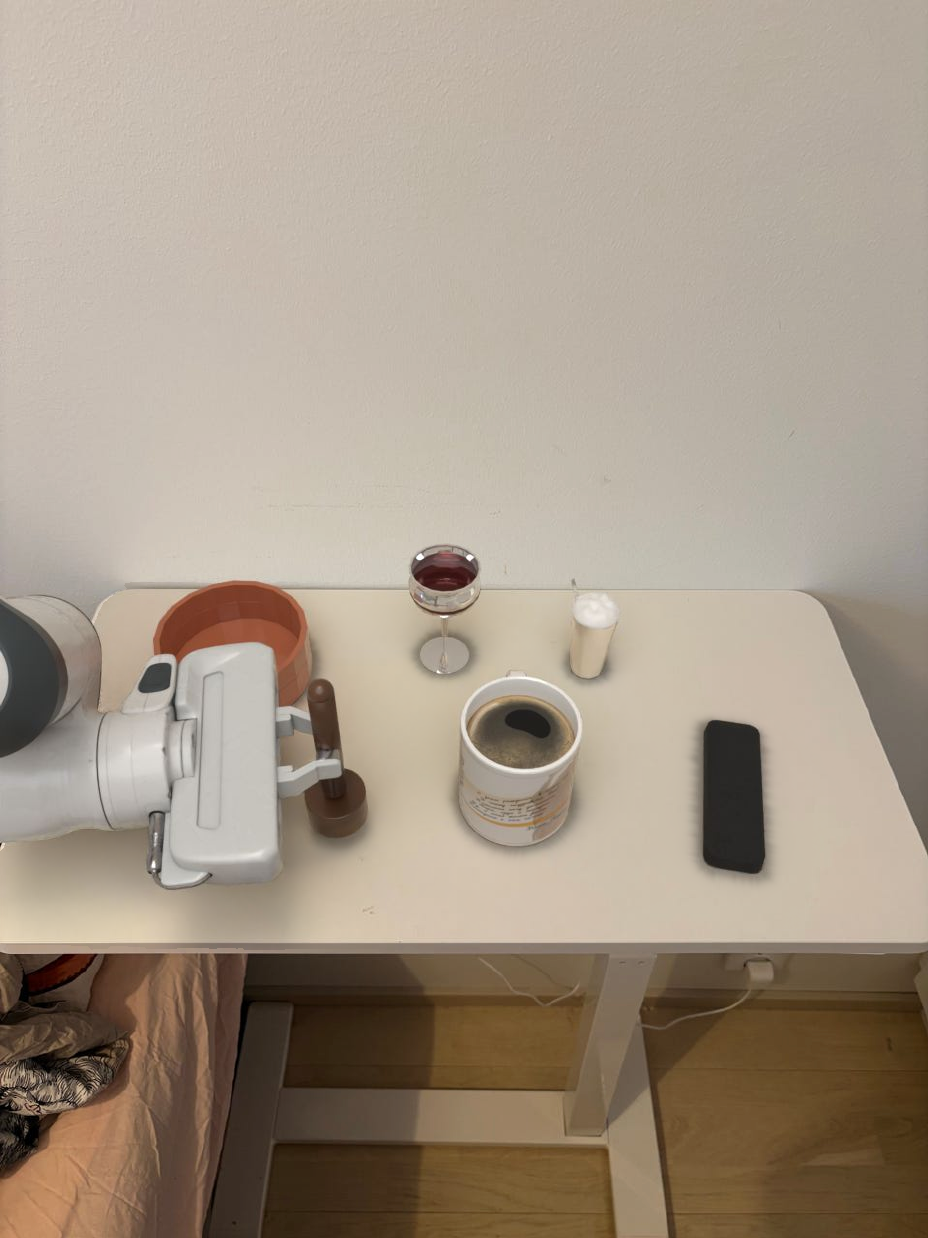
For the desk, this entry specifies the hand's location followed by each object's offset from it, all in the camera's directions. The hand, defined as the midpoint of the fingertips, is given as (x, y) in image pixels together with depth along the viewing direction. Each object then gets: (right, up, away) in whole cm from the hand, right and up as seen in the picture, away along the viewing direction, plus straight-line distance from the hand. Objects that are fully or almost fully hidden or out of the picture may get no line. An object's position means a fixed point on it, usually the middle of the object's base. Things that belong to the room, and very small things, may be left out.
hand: (339, 744), depth 72 cm
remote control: (+33, -6, +11) cm, 36 cm away
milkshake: (+22, +5, +22) cm, 31 cm away
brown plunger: (-1, -7, +7) cm, 10 cm away
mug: (+14, -6, +12) cm, 19 cm away
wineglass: (+8, +6, +22) cm, 24 cm away
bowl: (-13, +5, +20) cm, 24 cm away
